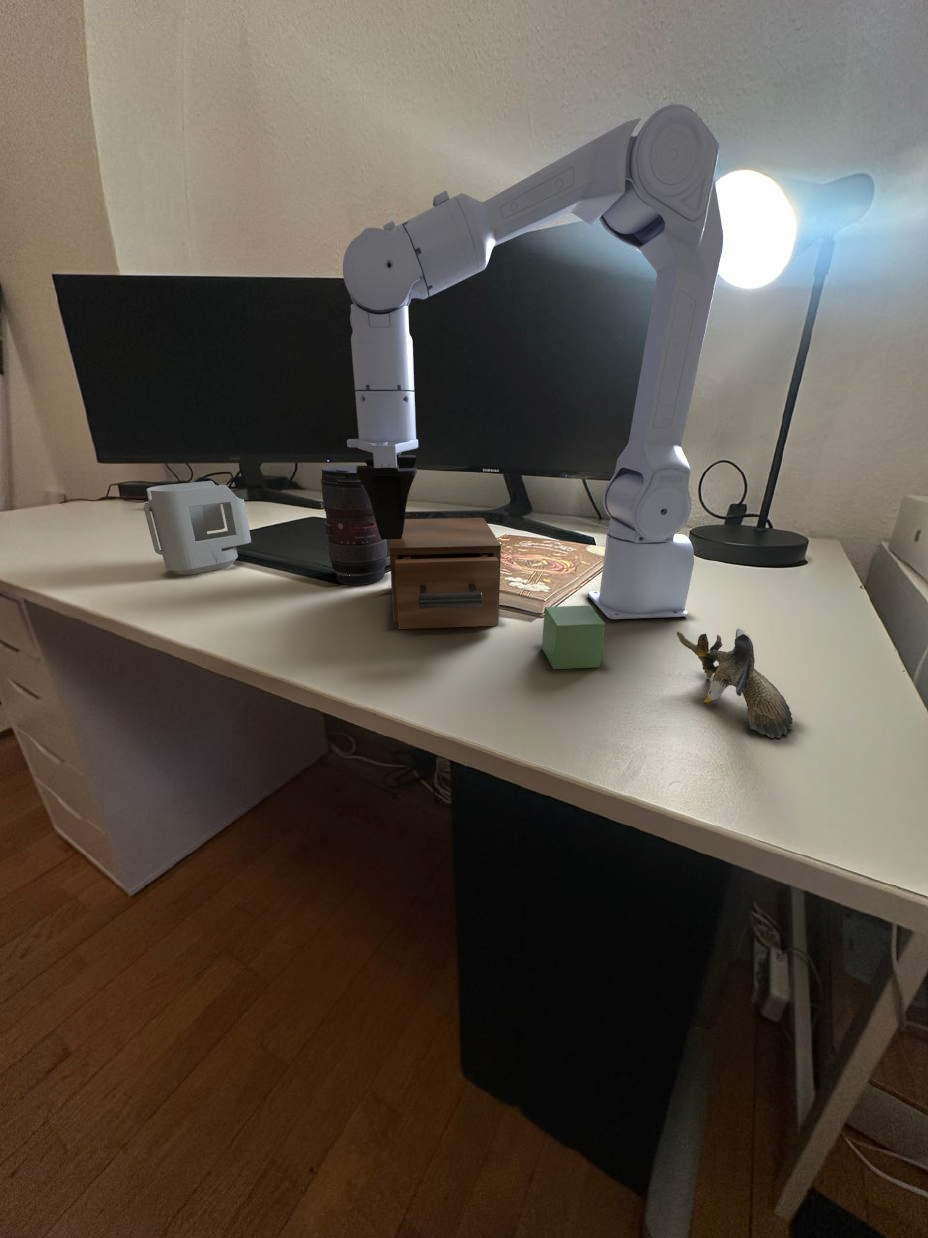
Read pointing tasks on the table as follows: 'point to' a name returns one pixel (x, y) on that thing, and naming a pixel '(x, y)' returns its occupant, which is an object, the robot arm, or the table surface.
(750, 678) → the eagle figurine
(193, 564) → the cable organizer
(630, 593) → the robot arm
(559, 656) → the block
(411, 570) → the drawer
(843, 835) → the table surface
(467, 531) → the cabinet
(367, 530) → the camera lens
